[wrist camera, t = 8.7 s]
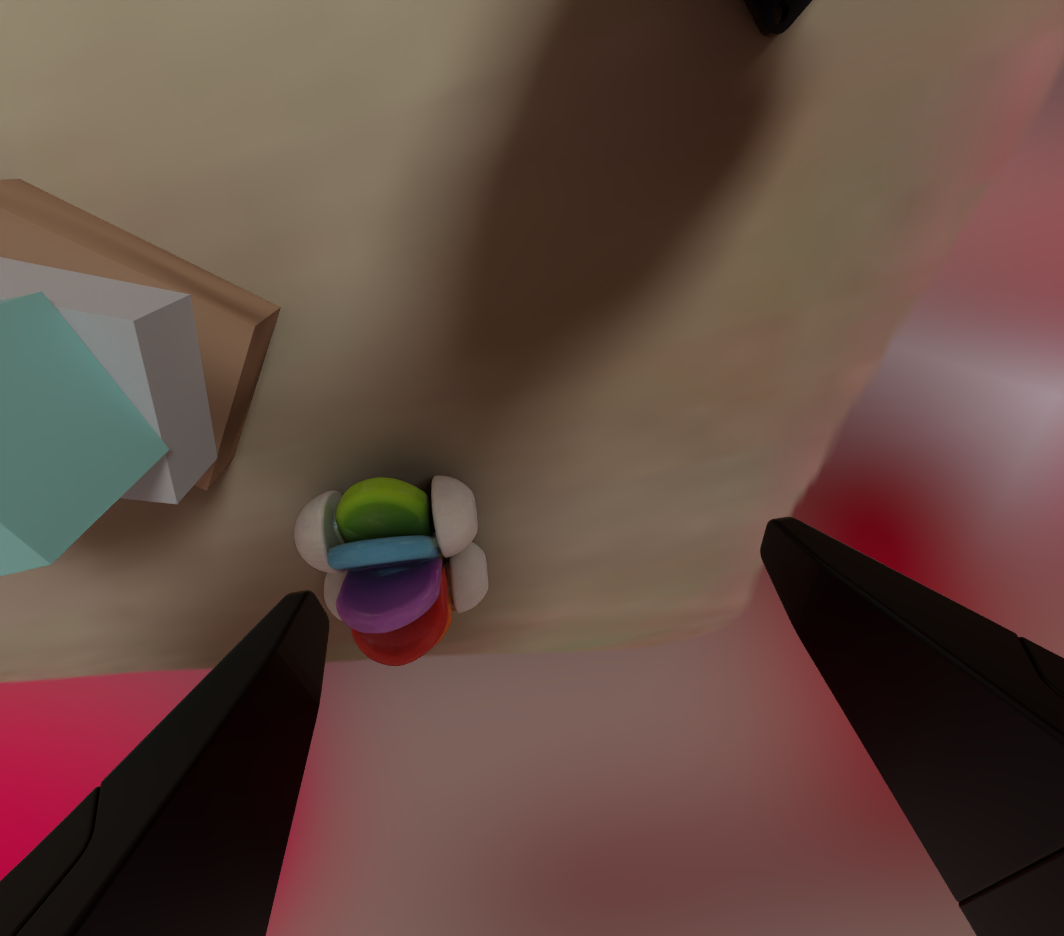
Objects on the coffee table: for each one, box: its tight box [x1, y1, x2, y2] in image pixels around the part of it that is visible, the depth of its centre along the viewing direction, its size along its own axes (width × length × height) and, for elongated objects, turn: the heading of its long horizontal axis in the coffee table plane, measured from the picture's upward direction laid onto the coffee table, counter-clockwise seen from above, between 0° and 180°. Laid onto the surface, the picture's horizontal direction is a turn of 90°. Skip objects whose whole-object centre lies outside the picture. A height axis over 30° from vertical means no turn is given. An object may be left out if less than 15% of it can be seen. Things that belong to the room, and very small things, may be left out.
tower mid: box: [0, 257, 218, 504], centre depth 14 cm, size 6×6×3 cm
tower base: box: [0, 179, 280, 490], centre depth 17 cm, size 8×8×3 cm
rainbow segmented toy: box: [294, 475, 488, 666], centre depth 22 cm, size 8×10×7 cm
